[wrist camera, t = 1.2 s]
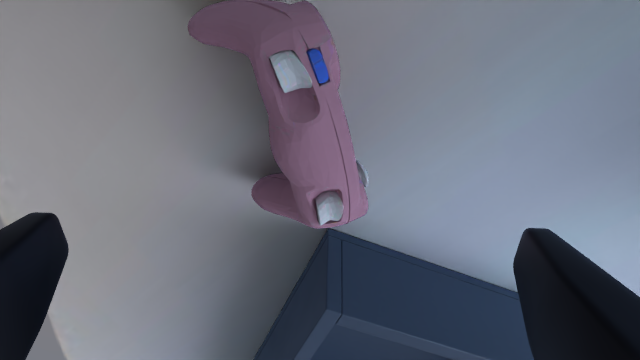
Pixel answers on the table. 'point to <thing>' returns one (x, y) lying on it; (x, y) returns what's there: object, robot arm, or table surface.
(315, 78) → the video game controller
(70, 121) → the table surface
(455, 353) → the open box
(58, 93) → the table surface
